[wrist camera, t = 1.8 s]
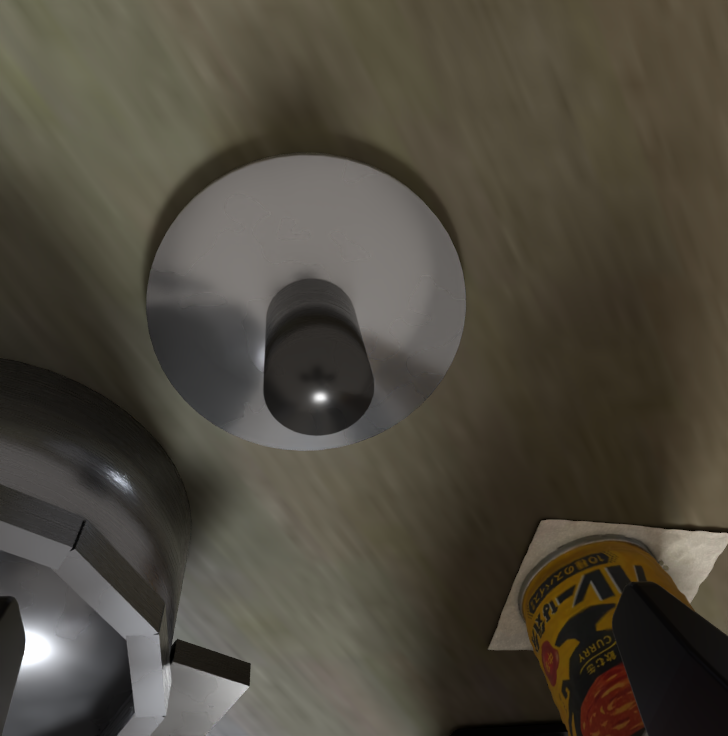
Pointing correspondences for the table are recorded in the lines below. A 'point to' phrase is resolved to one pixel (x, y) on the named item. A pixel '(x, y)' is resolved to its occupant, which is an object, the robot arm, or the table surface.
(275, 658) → the table surface
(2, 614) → the robot arm
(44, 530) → the pot
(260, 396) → the lid
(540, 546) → the condiment
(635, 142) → the table surface
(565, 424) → the table surface
